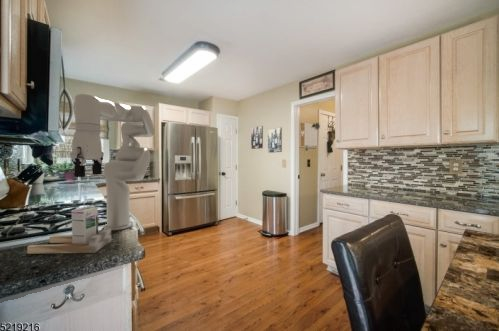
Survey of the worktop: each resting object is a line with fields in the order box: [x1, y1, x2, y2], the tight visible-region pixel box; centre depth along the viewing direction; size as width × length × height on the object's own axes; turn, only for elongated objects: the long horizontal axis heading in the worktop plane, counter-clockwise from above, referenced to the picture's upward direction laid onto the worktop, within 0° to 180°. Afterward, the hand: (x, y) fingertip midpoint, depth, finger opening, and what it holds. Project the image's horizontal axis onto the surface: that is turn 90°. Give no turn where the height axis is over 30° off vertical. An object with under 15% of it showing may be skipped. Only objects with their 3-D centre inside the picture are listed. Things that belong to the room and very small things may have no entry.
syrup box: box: [71, 206, 99, 243], centre depth 84 cm, size 6×6×14 cm
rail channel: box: [26, 229, 112, 255], centre depth 84 cm, size 11×22×5 cm, turn 95°
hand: (89, 175), depth 84 cm, fingers open, 9 cm apart
